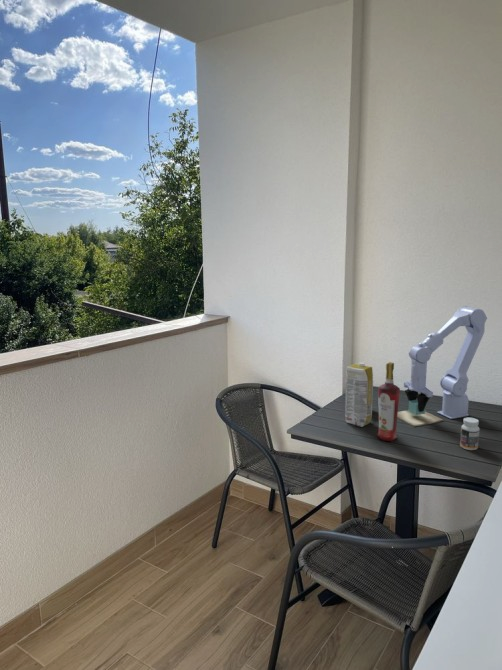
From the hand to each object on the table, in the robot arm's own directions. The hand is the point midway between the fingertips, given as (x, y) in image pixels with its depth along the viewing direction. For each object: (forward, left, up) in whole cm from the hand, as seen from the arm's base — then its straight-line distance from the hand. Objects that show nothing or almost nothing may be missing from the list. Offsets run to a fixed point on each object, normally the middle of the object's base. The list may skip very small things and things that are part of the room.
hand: (416, 409), depth 189 cm
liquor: (+23, +12, -4) cm, 26 cm away
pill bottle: (+2, +29, -4) cm, 29 cm away
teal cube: (0, 0, -1) cm, 1 cm away
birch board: (0, 0, -4) cm, 4 cm away
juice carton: (+24, -5, -4) cm, 25 cm away
